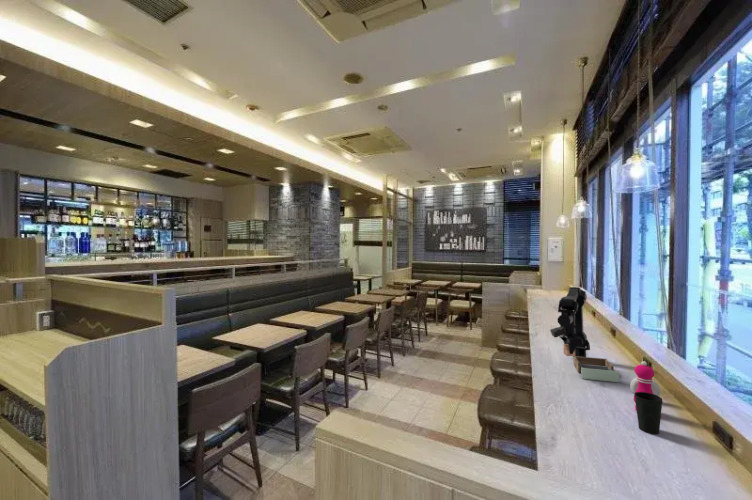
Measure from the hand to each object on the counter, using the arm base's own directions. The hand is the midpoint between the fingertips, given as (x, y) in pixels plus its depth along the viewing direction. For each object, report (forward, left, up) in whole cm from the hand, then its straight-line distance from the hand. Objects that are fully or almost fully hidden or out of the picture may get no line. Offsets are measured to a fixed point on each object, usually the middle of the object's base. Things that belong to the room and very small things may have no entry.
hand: (569, 352), depth 169 cm
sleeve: (-7, +12, -11) cm, 18 cm away
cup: (+51, +16, -11) cm, 54 cm away
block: (0, 0, -1) cm, 1 cm away
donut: (+24, +24, -11) cm, 35 cm away
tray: (0, +12, -11) cm, 16 cm away
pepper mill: (+36, +20, -11) cm, 42 cm away
